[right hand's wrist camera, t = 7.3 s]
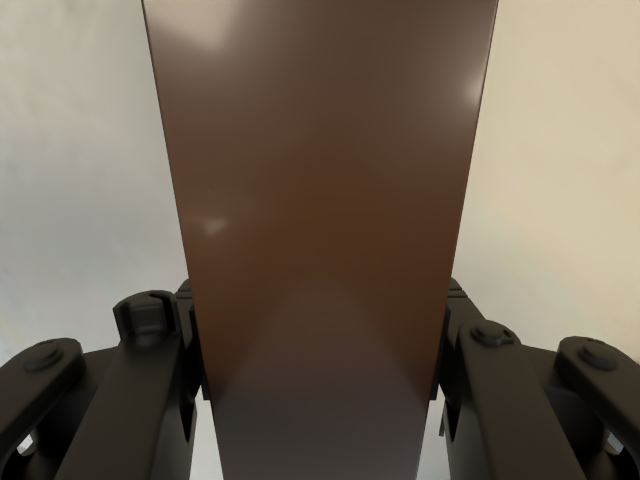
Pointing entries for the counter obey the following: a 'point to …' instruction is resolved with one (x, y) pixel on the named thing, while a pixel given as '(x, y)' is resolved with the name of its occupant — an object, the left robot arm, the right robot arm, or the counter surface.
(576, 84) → the counter surface
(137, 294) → the right robot arm
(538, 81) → the counter surface
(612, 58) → the counter surface
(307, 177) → the plank
